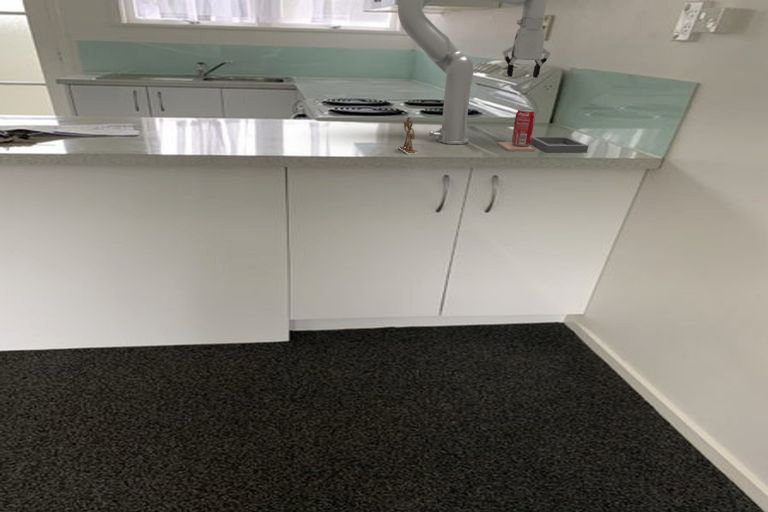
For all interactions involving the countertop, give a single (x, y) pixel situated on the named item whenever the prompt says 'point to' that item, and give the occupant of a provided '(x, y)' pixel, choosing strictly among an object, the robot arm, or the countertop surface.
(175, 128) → the countertop surface
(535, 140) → the gray square tray
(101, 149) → the countertop surface
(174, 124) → the countertop surface
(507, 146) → the tile
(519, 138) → the soda can
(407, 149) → the bronze figurine
